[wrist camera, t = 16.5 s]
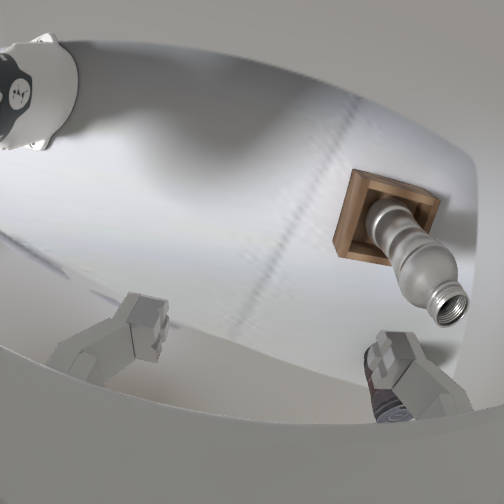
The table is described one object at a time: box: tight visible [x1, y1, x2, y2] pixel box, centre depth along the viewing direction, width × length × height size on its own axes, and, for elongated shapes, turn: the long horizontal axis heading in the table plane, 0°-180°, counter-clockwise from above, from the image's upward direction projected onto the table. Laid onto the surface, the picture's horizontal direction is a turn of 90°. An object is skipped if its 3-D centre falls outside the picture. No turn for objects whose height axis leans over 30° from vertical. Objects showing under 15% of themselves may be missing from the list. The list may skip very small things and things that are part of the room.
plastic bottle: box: [365, 197, 470, 328], centre depth 29 cm, size 6×7×20 cm
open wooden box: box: [332, 169, 440, 266], centre depth 37 cm, size 12×10×4 cm
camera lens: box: [364, 346, 414, 423], centre depth 45 cm, size 8×8×15 cm
